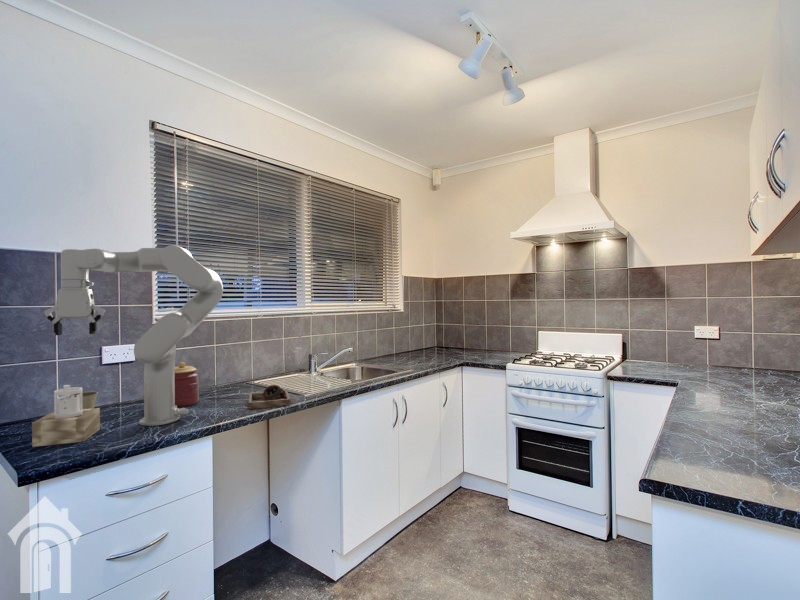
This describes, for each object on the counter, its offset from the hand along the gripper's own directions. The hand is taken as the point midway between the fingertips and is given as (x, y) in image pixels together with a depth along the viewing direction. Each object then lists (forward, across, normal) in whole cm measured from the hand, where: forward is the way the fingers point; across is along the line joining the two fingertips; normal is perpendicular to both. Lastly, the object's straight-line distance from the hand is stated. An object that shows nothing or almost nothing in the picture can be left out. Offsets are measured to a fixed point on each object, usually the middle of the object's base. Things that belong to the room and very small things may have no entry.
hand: (75, 334), depth 140 cm
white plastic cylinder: (+31, -2, +12) cm, 33 cm away
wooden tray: (+32, -64, -11) cm, 73 cm away
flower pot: (+32, +3, -14) cm, 36 cm away
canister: (+32, -29, -23) cm, 49 cm away
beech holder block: (+32, -2, +12) cm, 35 cm away
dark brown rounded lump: (+33, -66, -11) cm, 74 cm away
